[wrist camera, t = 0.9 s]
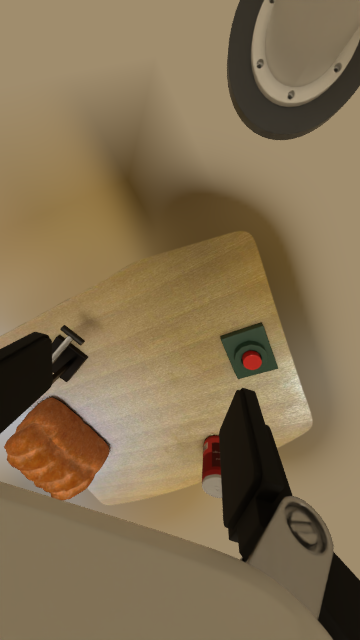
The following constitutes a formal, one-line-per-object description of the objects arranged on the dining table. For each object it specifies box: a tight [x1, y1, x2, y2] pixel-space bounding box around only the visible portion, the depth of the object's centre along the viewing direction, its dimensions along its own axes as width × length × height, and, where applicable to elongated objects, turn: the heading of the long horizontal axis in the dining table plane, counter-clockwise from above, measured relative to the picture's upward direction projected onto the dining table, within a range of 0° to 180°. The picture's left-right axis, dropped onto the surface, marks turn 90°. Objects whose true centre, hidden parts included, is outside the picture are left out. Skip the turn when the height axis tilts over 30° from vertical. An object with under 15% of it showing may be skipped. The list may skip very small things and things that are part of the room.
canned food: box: [202, 436, 222, 498], centre depth 53 cm, size 8×8×11 cm
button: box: [242, 351, 262, 370], centre depth 41 cm, size 4×4×2 cm
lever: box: [52, 325, 85, 364], centre depth 42 cm, size 18×5×2 cm, turn 138°
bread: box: [4, 397, 110, 500], centre depth 57 cm, size 14×26×16 cm, turn 37°
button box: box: [221, 323, 278, 379], centre depth 44 cm, size 11×9×4 cm
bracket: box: [52, 335, 88, 384], centre depth 48 cm, size 11×9×14 cm
